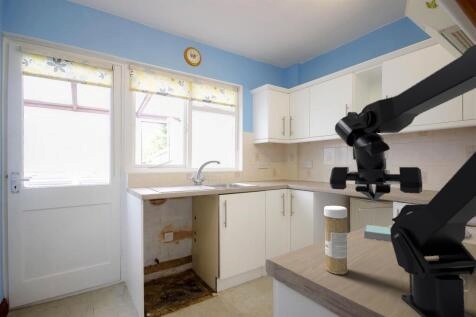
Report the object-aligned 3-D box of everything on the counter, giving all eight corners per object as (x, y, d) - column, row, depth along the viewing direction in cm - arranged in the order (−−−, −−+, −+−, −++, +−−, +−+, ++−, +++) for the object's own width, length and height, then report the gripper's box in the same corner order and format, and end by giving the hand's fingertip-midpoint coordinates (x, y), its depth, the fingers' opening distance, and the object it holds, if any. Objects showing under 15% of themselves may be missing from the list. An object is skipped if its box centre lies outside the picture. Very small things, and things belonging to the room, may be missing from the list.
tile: (391, 234, 67) (391, 227, 74) (364, 231, 70) (365, 224, 77) (392, 243, 66) (391, 235, 74) (364, 239, 70) (366, 232, 77)
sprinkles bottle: (324, 264, 52) (323, 204, 52) (346, 267, 51) (345, 205, 51) (326, 274, 48) (324, 208, 48) (350, 276, 46) (348, 209, 47)
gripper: (419, 130, 51) (417, 177, 60) (331, 136, 62) (340, 176, 71) (424, 166, 45) (420, 213, 54) (324, 166, 55) (335, 205, 64)
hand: (374, 199), depth 61 cm, fingers closed
